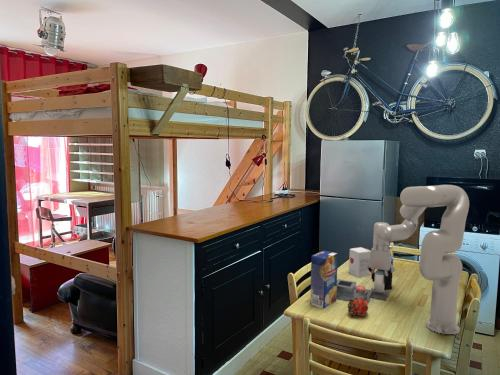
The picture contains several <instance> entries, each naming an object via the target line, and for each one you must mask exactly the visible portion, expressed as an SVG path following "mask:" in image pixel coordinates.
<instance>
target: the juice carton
mask: <svg viewBox="0 0 500 375" xmlns="http://www.w3.org/2000/svg"><path fill="white" fill-rule="evenodd" d="M338 257H339V256H338V253H337V252H332V251H327V250H322V251H319V252H317V253H315V254H312V255H311V257H310V258H311V262H310V264H311V265H310V267H311V268H310V270H311V271H310V305H311V306H314V307H318V308H320V309H323V310H324V309H327V307H330V306H331V305H332V304H334V303H336V302H337V299H336V294H337V280H338V260H339V259H338Z"/></svg>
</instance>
